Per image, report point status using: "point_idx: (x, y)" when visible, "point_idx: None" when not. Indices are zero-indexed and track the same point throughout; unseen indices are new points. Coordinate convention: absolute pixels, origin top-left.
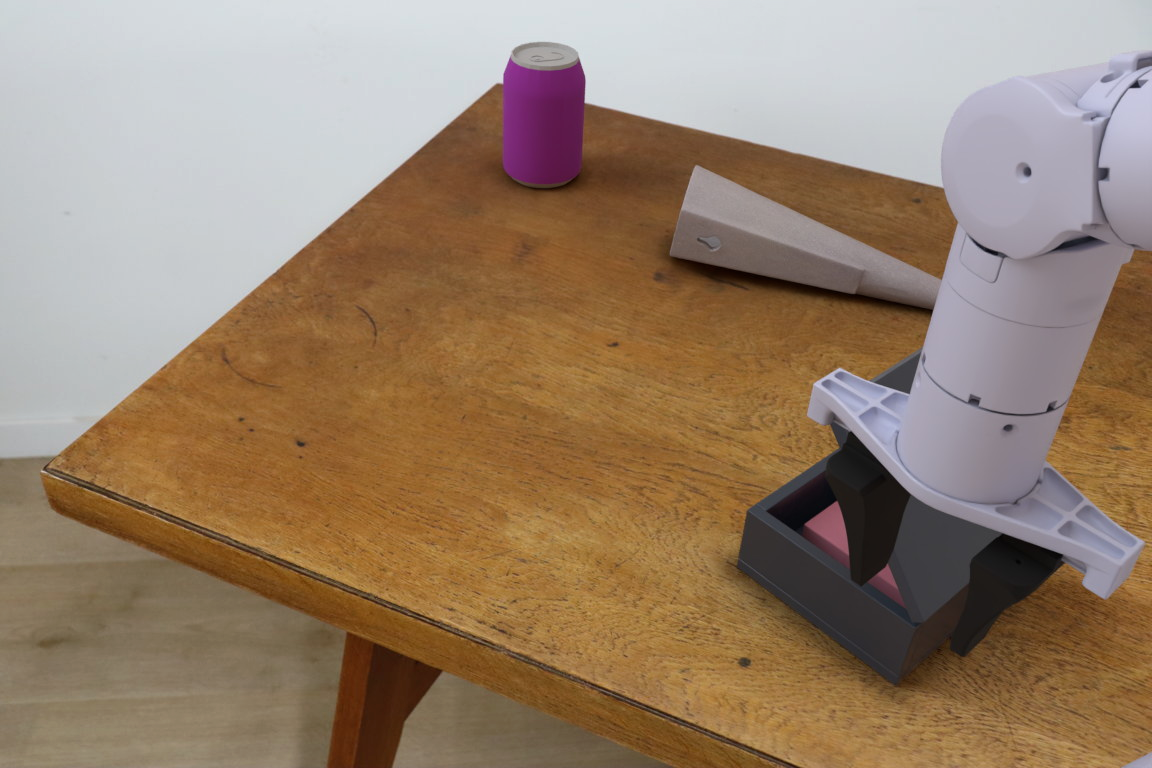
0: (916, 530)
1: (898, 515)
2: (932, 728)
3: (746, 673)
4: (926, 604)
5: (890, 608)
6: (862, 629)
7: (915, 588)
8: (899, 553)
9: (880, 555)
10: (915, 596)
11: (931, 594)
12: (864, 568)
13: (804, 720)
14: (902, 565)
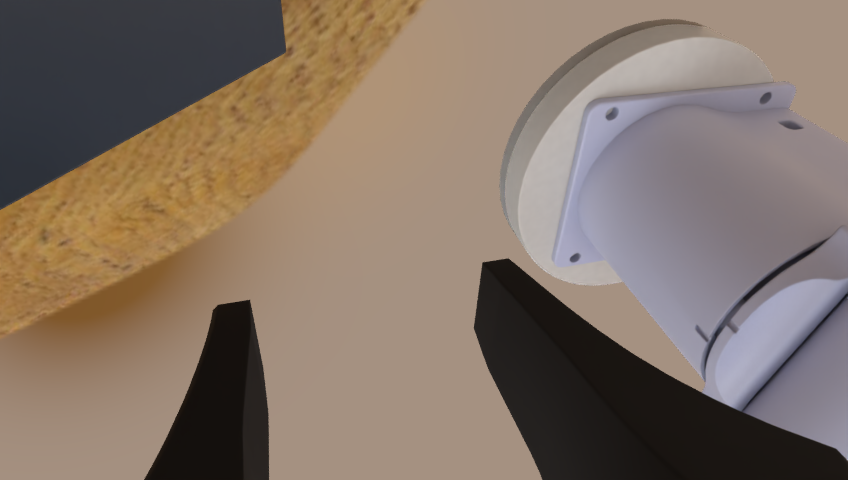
0: (119, 10)
1: (247, 439)
2: (351, 7)
3: (97, 168)
4: (265, 31)
5: None
6: None
7: (236, 62)
8: (163, 103)
9: (258, 381)
10: (248, 67)
11: (254, 5)
12: (267, 421)
13: (222, 154)
14: (188, 96)
